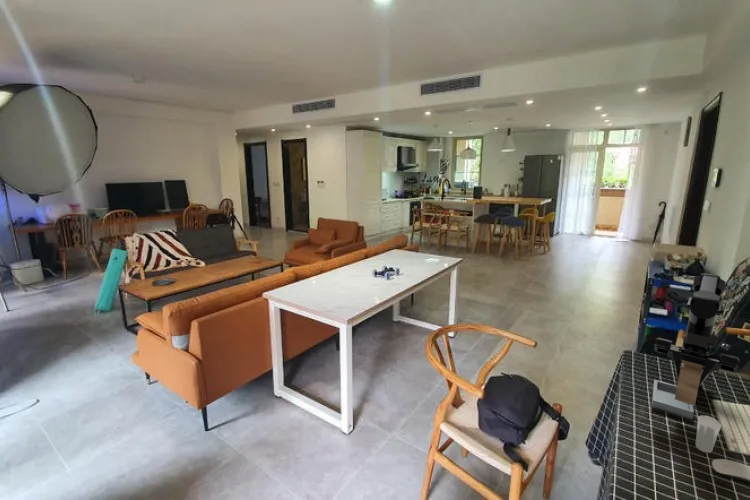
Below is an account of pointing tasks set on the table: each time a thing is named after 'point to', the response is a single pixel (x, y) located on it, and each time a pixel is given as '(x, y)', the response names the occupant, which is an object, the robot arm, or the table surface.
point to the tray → (670, 400)
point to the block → (688, 382)
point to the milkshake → (707, 433)
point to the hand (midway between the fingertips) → (688, 381)
